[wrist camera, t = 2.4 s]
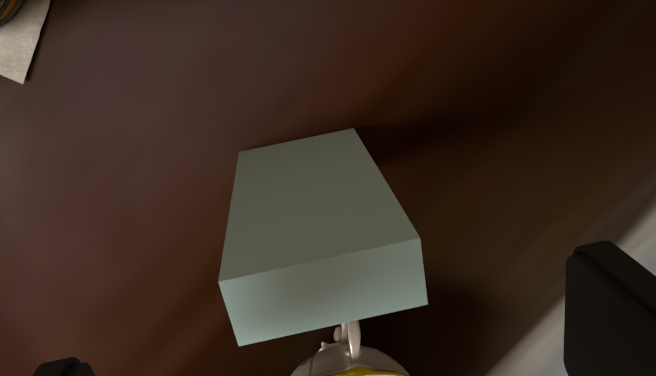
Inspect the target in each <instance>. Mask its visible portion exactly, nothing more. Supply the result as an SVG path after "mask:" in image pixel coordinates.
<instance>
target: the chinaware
mask: <svg viewBox="0 0 656 376" xmlns="http://www.w3.org/2000/svg"><path fill="white" fill-rule="evenodd" d="M341 325H342V327H340V326H338V327H337V328H336V329H335V332H334V340H335V341H336V342H337V343H332V344H327V343H325V342H322V343H321V346H322V348H321V349H320V350H319V351H318V352H317V353H315V354H313V355H312V356H310V357H309V358H308V359H306V360H305V361H304V362H302V363H301V364H300V365H299V366H298V367H297V368H296V369H295V371H294V372H293V373H292V374H291V376H410V375H409V374H408V372H407V371H406V370H405V369H404V368H403V367H402V366H401V365H400V364H399V363H398V362H397V361H395V360H394V359H392V358H391V357H390V356H388V355H386V354H385V353H383V352H381V351H379V350H377V349H374V348H370V347H367V346H362V345H360V342H361V332H360V325H359V320H355V321H351V322H346V323H342V324H341Z"/></svg>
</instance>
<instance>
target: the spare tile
mask: <svg viewBox="0 0 656 376" xmlns="http://www.w3.org/2000/svg"><path fill="white" fill-rule="evenodd" d="M218 283H219V286H220V289H221V292H222V295H223V298H224V301H225V305H226V308H227V311H228V314H229V317H230V320H231V323H232V327H233V330H234V333H235V336H236V339H237V342H238V345H239V346H243V345H247V344H252V343H256V342H261V341H265V340H270V339H274V338H279V337H283V336H288V335H292V334H297V333H301V332H306V331H310V330H315V329H319V328H324V327H328V326H333V325H337V324H342V323H346V322H351V321H355V320H360V319H364V318H369V317H373V316H378V315H382V314H387V313H392V312H396V311H401V310H405V309H410V308H414V307H419V306H423V305H428V300H427V292H426V284H425V275H424V267H423V258H422V250H421V241H420V237H419V235H418V234H417V232H416V231H415V229H414V227H413V226H412V224H411V222H410V221H409V219H408V217H407V216H406V214H405V212H404V211H403V209H402V207H401V206H400V204H399V202H398V201H397V199H396V197H395V196H394V194H393V192H392V191H391V189H390V187H389V186H388V184H387V182H386V181H385V179H384V177H383V176H382V174H381V173H380V171H379V169H378V168H377V166H376V164H375V163H374V161H373V159H372V158H371V156H370V154H369V153H368V151H367V149H366V148H365V146H364V144H363V143H362V141H361V139H360V138H359V136H358V134H357V133H356V131H355V129H354V128H352V129H347V130H342V131H337V132H333V133H328V134H323V135H318V136H313V137H308V138H304V139H299V140H294V141H289V142H284V143H279V144H275V145H270V146H265V147H260V148H255V149H250V150H246V151H241V152H239V156H238V162H237V168H236V174H235V181H234V187H233V193H232V199H231V206H230V212H229V218H228V224H227V231H226V237H225V243H224V249H223V256H222V262H221V268H220V274H219V281H218Z"/></svg>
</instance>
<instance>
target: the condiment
mask: <svg viewBox="0 0 656 376" xmlns="http://www.w3.org/2000/svg"><path fill="white" fill-rule="evenodd" d="M49 5H50V0H0V75H3V76H5V77H7V78H10V79H12V80H14V81H17V82H19V83H21V84H23V82H24V79H25V76H26V73H27V70H28V67H29V64H30V62H31V59H32V56H33V53H34V50H35V47H36V44H37V41H38V38H39V35H40V30H41V28H42V25H43V23H44V20H45V17H46V14H47V11H48V8H49Z"/></svg>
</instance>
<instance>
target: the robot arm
mask: <svg viewBox="0 0 656 376" xmlns="http://www.w3.org/2000/svg"><path fill="white" fill-rule="evenodd" d="M564 365H565V368H566V371H567V373H568V375H569V376H656V276H655V275H653V274H652V273H651V272H649V271H648V270H647V269H646V268H644V267H643V266H642V265H640V264H639V263H638V262H637V261H635V260H634V259H633V258H631V257H630V256H629V255H628V254H626V253H625V252H624V251H622V250H621V249H620V248H619V247H617V246H616V245H615V244H613V243H612V242H610V241H600V242H596V243H591V244H587V245H582V246H578V247H576V248H575V250H574V252H573V255H572V256H569V257H568V258H567V262H566V292H565V327H564ZM33 376H95V374H94V372H93V370H92V368H91V367H90V365H89V364H88V363H81V362H80V360H79V359H77V358H76V357H70V358H65V359H61V360H56V361H52V362H47V363H43V364H41V365H40V366H39V367H38V368H37V369H36V371H35V373H34V374H33Z"/></svg>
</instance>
